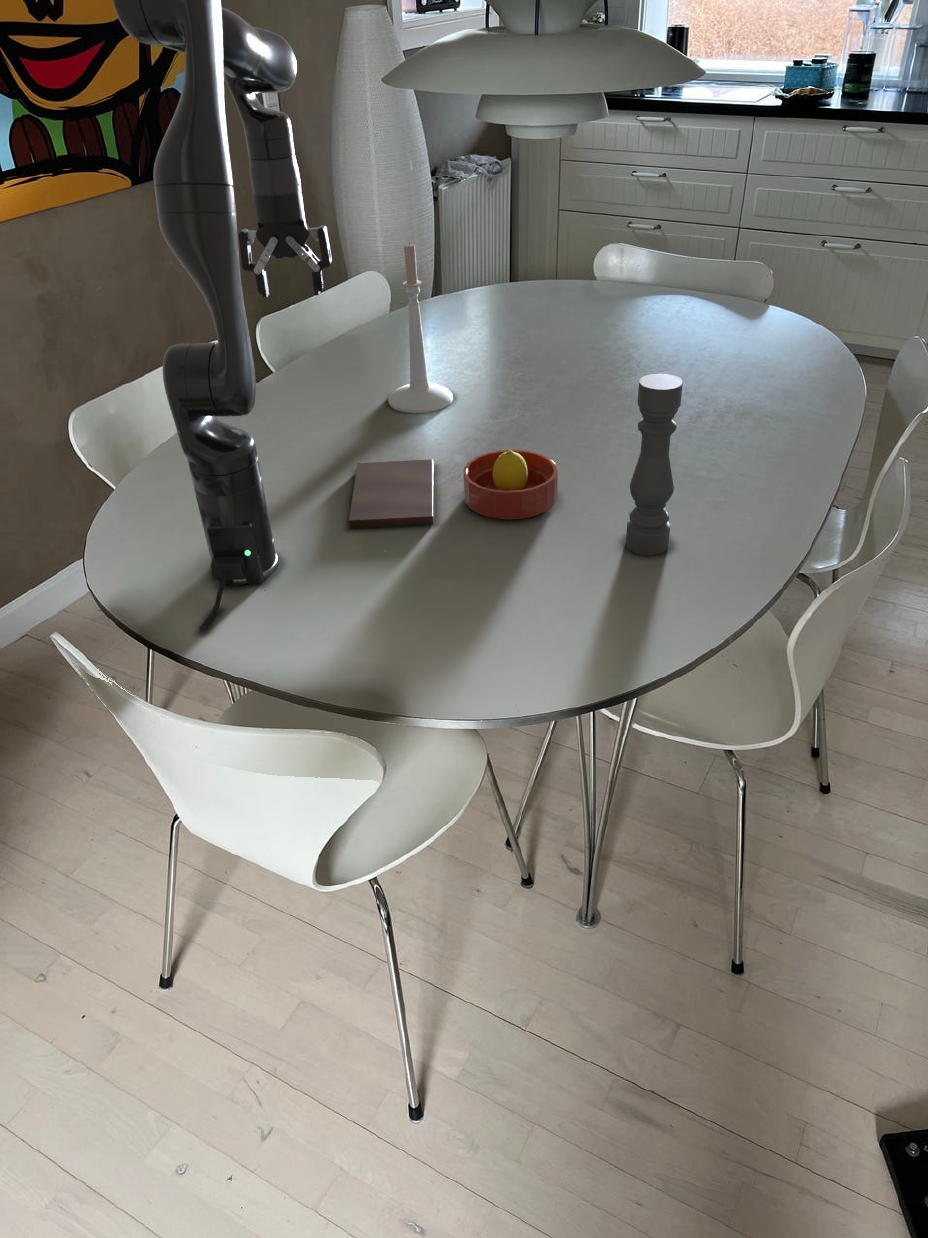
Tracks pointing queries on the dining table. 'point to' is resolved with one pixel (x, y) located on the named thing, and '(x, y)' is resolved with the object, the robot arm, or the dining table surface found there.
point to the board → (392, 494)
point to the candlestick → (417, 355)
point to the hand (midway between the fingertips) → (291, 294)
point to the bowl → (517, 502)
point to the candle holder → (653, 464)
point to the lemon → (510, 472)
